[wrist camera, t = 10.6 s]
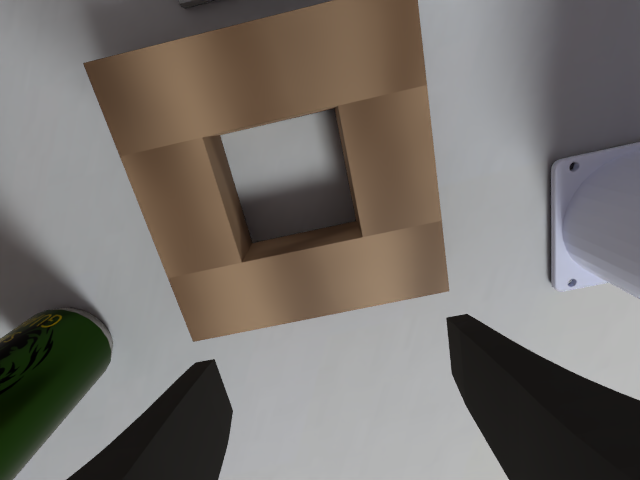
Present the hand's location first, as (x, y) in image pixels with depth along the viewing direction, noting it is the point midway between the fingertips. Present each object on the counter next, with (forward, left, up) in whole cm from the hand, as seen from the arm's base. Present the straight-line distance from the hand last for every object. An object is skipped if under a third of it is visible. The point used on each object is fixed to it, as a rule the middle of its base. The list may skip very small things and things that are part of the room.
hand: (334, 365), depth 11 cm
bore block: (+1, -4, -10) cm, 11 cm away
